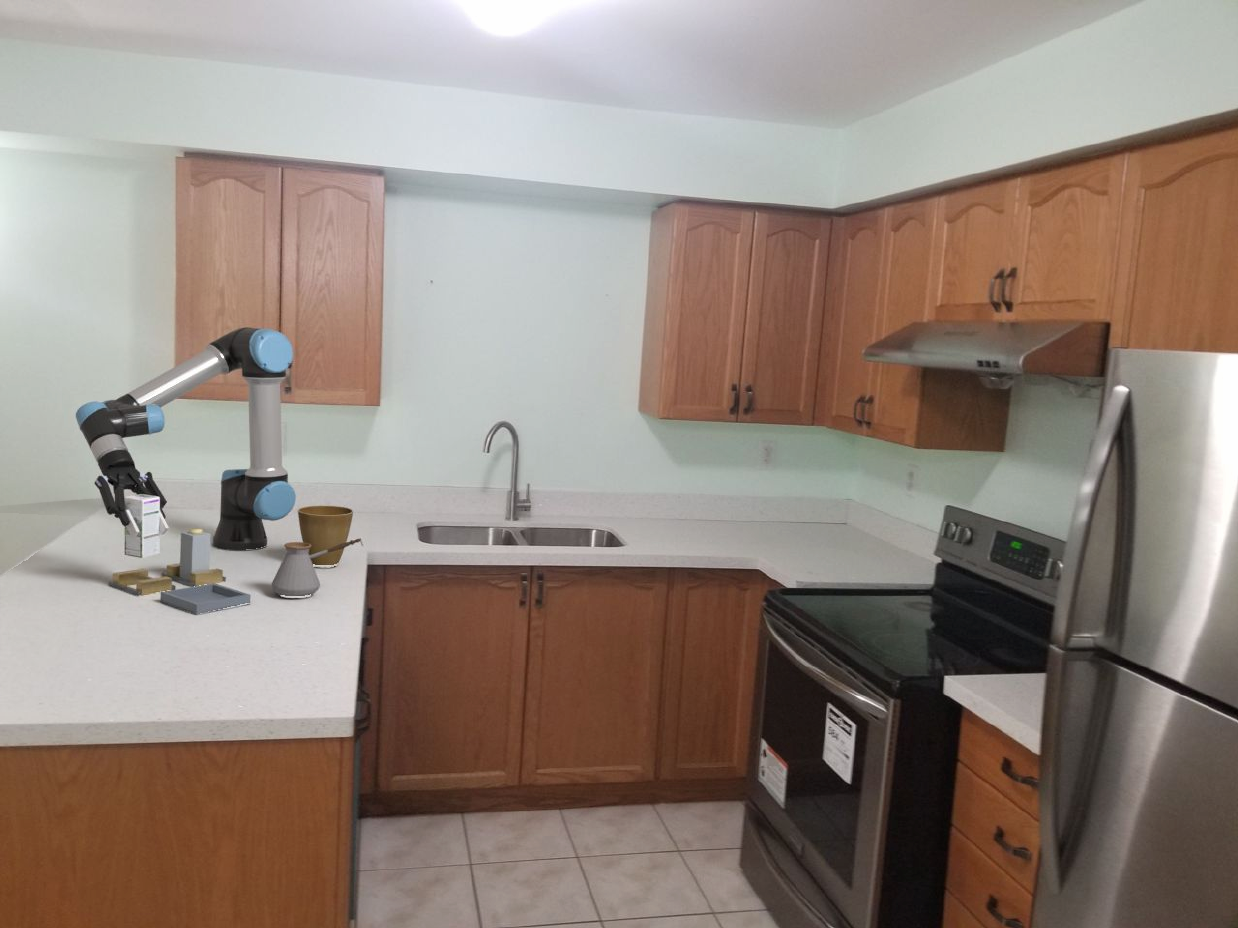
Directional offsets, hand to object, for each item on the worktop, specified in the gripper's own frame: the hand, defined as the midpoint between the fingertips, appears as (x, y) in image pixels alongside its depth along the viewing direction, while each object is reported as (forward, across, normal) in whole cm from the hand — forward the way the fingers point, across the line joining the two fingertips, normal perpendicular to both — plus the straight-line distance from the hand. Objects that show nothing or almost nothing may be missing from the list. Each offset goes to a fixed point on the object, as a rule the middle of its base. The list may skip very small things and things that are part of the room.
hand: (150, 533), depth 237 cm
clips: (+8, -14, -13) cm, 21 cm away
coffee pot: (+30, -27, +9) cm, 41 cm away
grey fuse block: (+8, -14, -13) cm, 21 cm away
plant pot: (+13, -49, -8) cm, 52 cm away
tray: (+22, -3, +2) cm, 23 cm away
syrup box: (+2, 0, -7) cm, 7 cm away
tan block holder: (+8, 0, -12) cm, 15 cm away
